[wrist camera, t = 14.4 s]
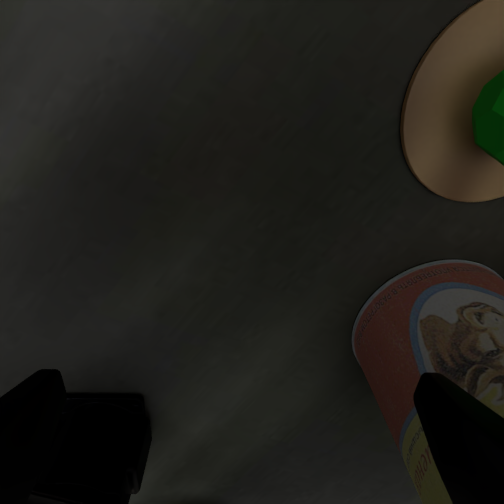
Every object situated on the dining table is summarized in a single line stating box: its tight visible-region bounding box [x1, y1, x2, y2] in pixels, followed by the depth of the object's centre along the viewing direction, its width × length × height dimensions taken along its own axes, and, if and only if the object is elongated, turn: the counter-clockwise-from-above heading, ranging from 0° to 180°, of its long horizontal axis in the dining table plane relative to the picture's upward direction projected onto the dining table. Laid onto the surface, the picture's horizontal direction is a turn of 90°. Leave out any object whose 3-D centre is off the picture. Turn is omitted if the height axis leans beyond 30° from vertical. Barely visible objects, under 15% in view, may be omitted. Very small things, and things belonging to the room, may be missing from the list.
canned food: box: [352, 260, 504, 504], centre depth 18 cm, size 11×11×12 cm
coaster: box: [400, 0, 504, 202], centre depth 17 cm, size 10×10×1 cm
